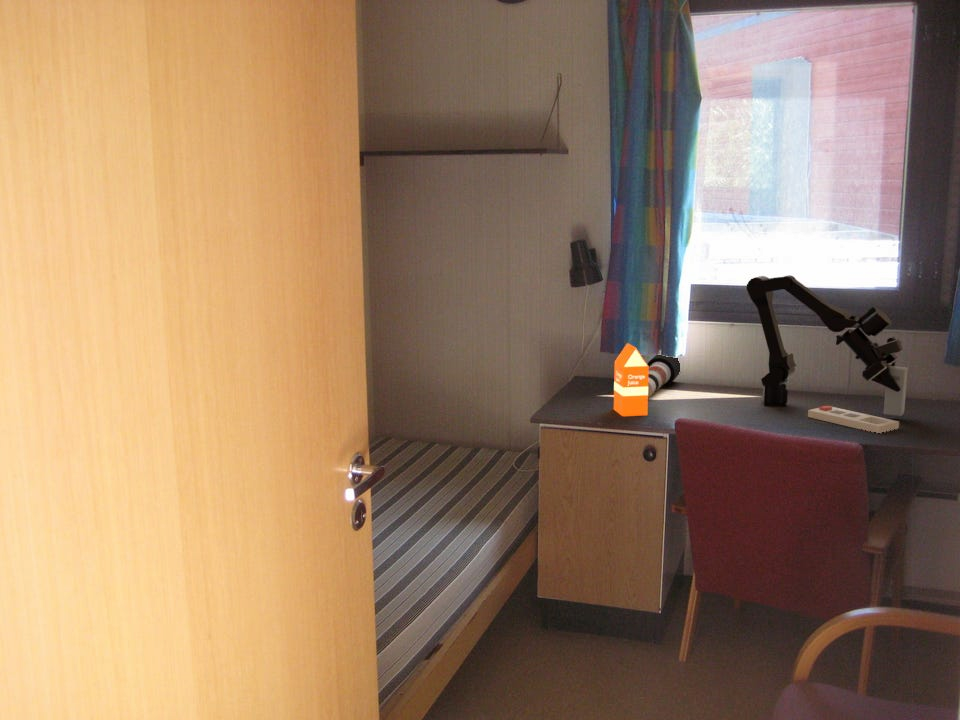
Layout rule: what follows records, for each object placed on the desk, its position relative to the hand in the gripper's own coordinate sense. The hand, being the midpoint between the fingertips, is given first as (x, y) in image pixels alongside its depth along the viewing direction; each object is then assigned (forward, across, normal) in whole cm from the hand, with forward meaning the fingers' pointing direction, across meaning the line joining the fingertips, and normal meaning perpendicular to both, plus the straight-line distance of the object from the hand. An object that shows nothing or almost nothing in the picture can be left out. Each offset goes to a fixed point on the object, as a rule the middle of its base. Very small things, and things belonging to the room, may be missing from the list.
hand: (900, 389), depth 258 cm
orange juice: (-41, -33, +54) cm, 76 cm away
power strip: (-1, -10, +14) cm, 17 cm away
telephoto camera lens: (-45, -2, +59) cm, 74 cm away
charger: (+4, 0, +6) cm, 7 cm away
